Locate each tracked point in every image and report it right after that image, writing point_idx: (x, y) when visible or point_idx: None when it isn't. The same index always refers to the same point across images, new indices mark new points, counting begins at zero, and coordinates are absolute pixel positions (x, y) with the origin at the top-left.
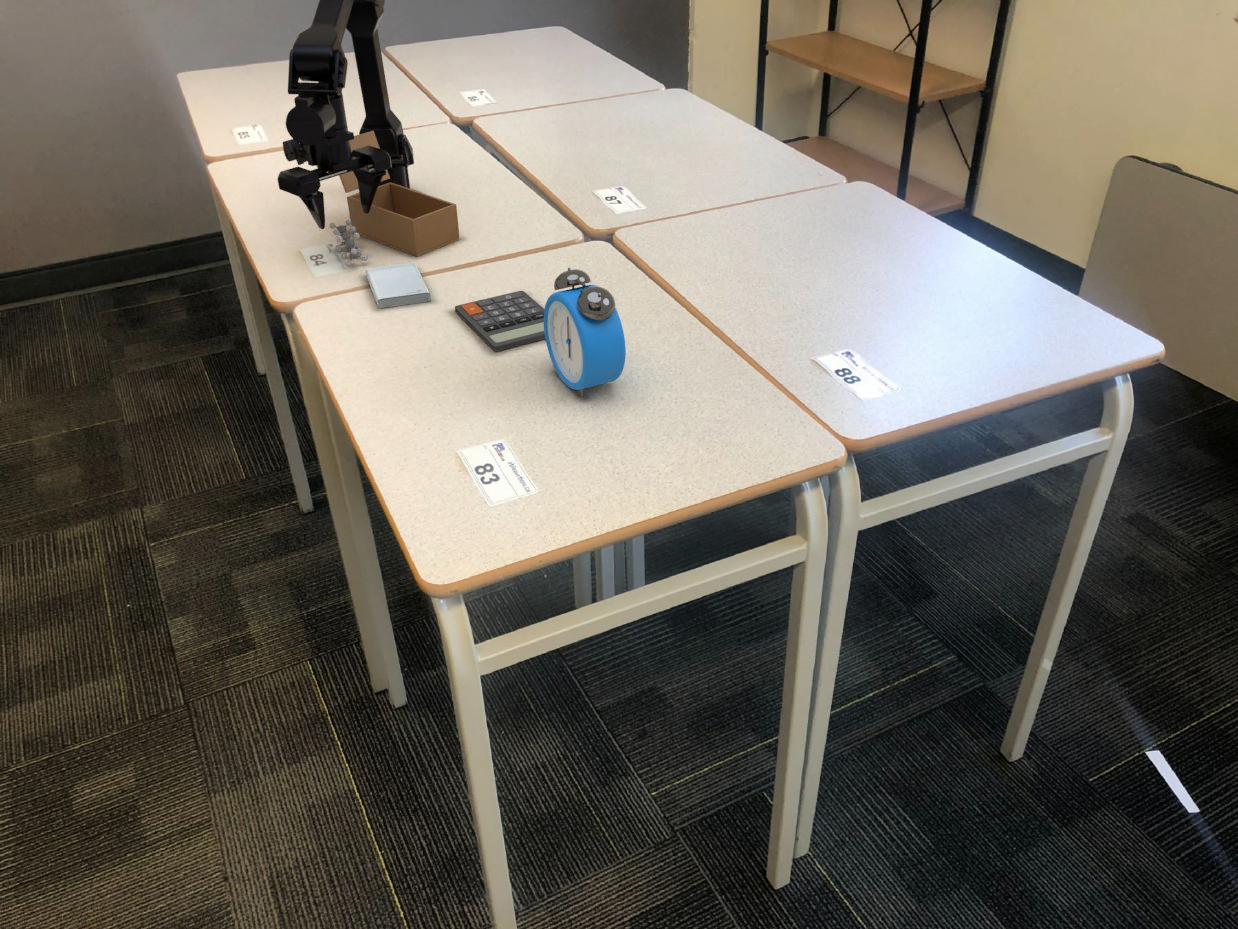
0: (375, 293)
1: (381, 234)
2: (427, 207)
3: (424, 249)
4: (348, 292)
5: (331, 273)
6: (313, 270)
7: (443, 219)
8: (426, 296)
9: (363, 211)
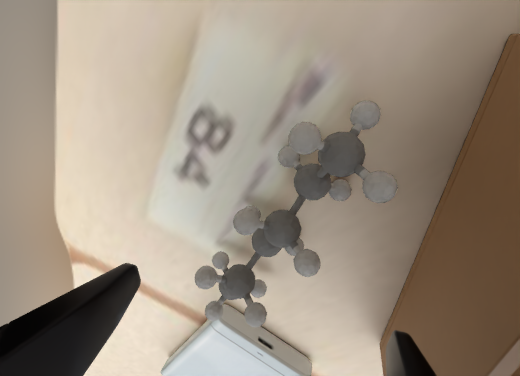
0: (170, 364)
1: (434, 259)
2: None
3: None
4: (162, 303)
5: (182, 234)
6: (158, 188)
7: None
8: None
9: (394, 335)
